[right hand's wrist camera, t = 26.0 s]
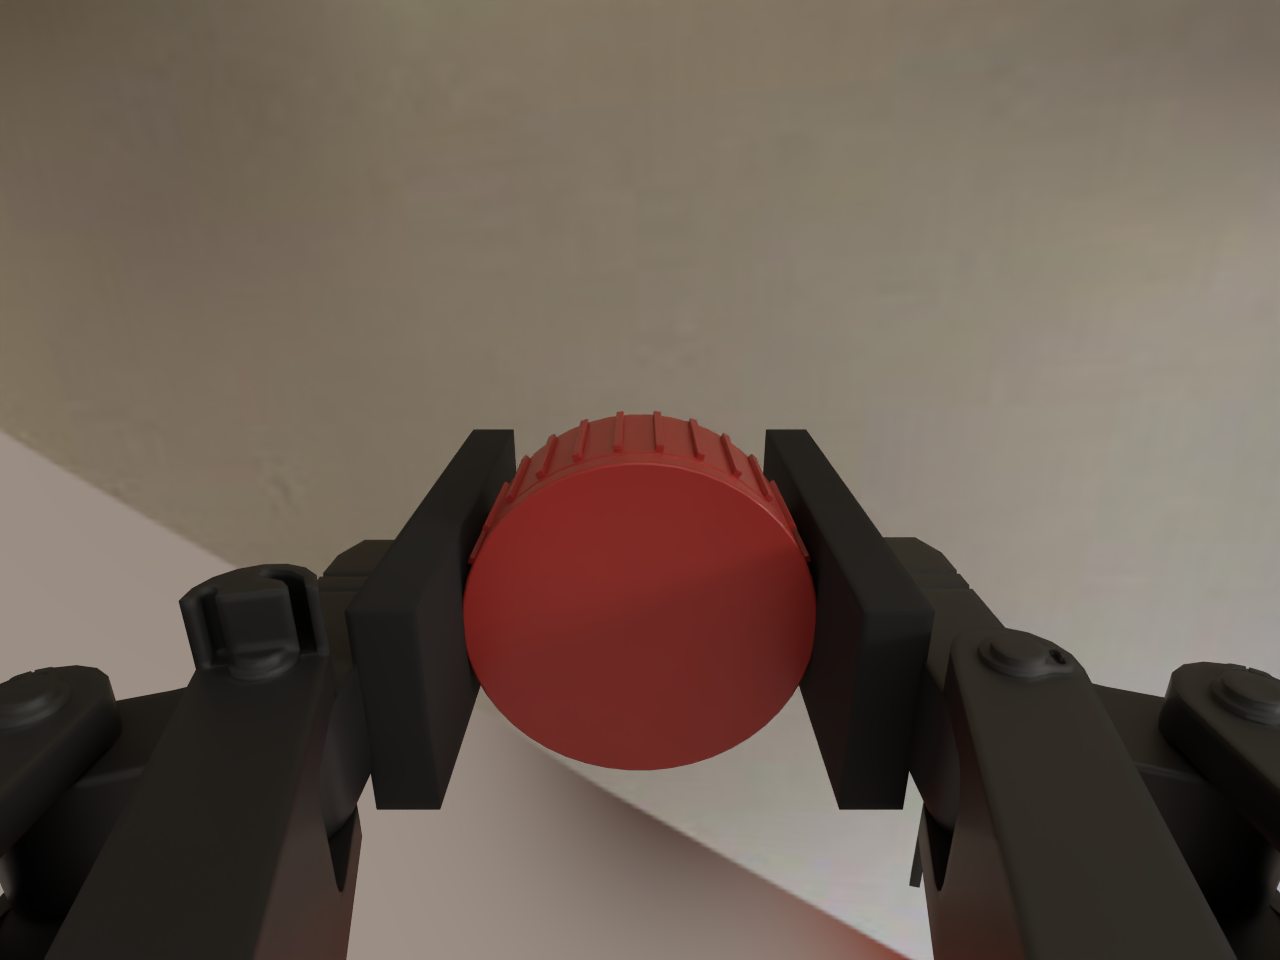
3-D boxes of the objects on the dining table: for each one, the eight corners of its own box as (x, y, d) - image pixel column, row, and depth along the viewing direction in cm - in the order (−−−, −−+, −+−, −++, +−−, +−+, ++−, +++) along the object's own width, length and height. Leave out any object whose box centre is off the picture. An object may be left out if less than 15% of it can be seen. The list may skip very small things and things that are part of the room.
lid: (716, 353, 11) (734, 390, 9) (835, 615, 12) (875, 700, 10) (430, 490, 12) (384, 554, 10) (576, 721, 13) (564, 819, 11)
